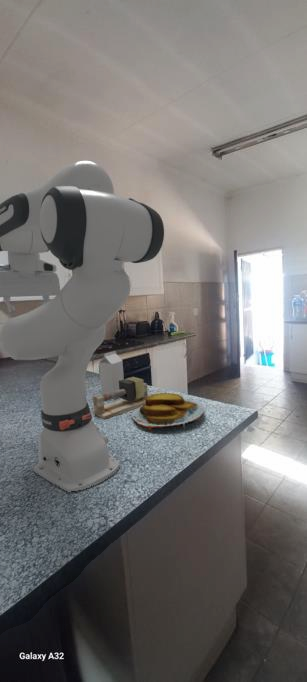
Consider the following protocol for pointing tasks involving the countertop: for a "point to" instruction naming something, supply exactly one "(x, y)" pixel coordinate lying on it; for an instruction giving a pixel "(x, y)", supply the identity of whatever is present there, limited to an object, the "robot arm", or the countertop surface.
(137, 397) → the tan block
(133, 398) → the dark grey hooked block
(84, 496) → the countertop surface
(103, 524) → the countertop surface
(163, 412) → the food on plate
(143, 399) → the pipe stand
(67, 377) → the robot arm
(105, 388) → the milk carton
